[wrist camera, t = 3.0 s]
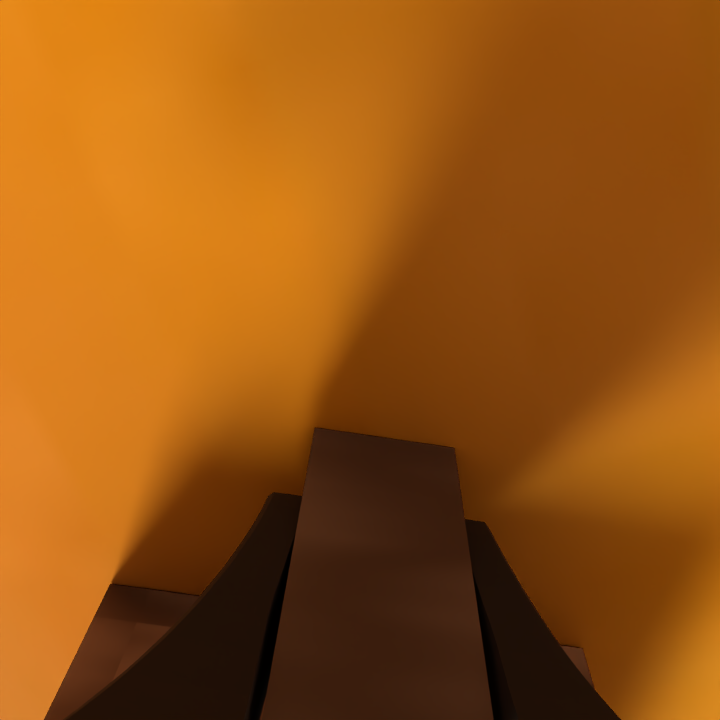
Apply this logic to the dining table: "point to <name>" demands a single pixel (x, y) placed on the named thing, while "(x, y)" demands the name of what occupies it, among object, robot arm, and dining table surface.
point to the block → (379, 590)
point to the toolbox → (141, 642)
